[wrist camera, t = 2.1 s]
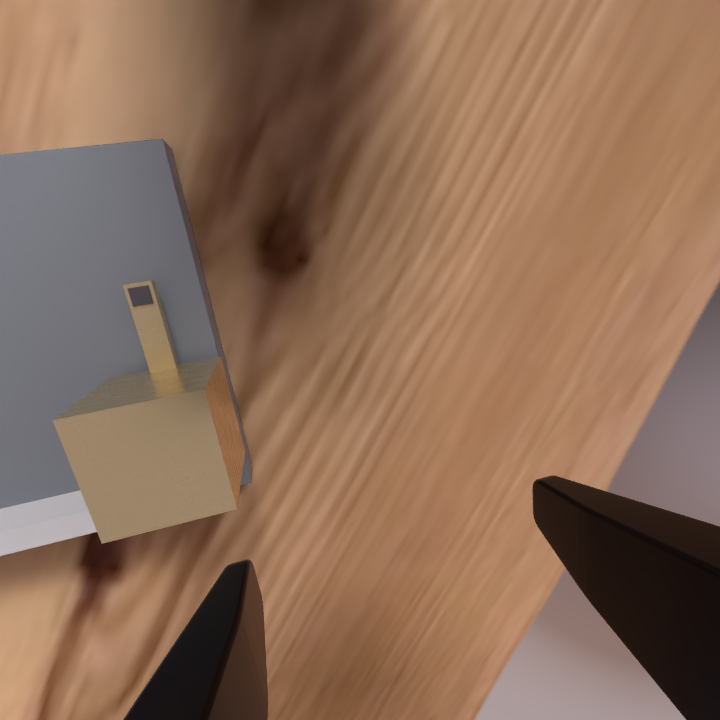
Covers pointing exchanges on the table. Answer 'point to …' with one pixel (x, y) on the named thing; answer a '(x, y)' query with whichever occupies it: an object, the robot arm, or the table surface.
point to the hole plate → (84, 310)
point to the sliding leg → (155, 436)
